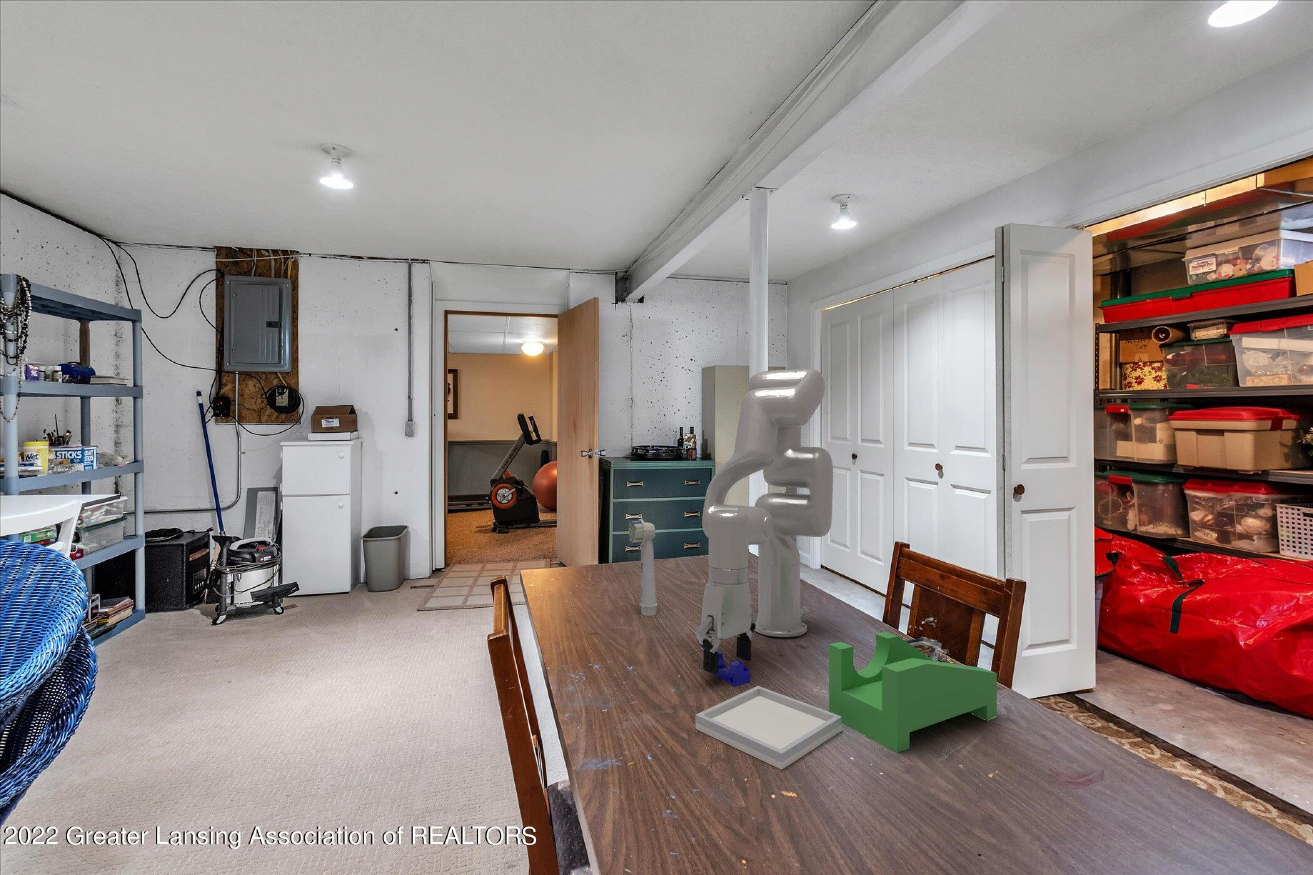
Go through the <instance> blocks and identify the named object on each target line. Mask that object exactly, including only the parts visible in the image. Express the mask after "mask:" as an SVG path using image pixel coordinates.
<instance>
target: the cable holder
mask: <svg viewBox="0 0 1313 875" xmlns="http://www.w3.org/2000/svg"><path fill="white" fill-rule="evenodd" d="M716 652H718V654H719V671H718V673H717V674H715V676H717V677H719V678H720V679H722V680H724V681H725V682H726V683H727V684H730V685H731V686H734V687H738V686H742V685H745V684H750V683H751V669H748V668H747V667H745V666H744V662H741V661H739V660H736V661H732V662H729V667H728V666H727V664H726V663H725V659H724V654H723V652H722V651H720V650H718V649H717V650H716Z"/></svg>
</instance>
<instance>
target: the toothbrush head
mask: <svg viewBox="0 0 1313 875" xmlns="http://www.w3.org/2000/svg"><path fill="white" fill-rule="evenodd" d="M628 535H629V537H630V538H629V541H630V543H631V544H632V545H639V546H640V602H639V603H638V604H639V606H640V614H641V615H642V616H645V617H646V616H647V617H651V616H655V615H656V614H657V612H658V611H657V609H658V608H657V606H658V605H659V603H658V602H657V590H656V589H657V588H656V570H655V569H656V568H655V555H654V552H655V550H654V538H655V537H656V528H655V524H653V523H651V522H645V521H644V519H643V518H640V519H639V518H638V519H637V520H635V521H633V520H631V521H630V522H629V528H628Z"/></svg>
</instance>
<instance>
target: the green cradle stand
mask: <svg viewBox="0 0 1313 875" xmlns="http://www.w3.org/2000/svg"><path fill="white" fill-rule="evenodd" d="M914 646H915V645H911V644H909V643H908V642H906V641H905V639H904V638H902V636H900V635H899V636H898V635H897V634H894V633H892V632H888V631H882V632H880V633H879V632H878V633H875V648H874V653H873V657H872V658H871V660H870V662H869V663H868V665H867V666H865V667H864V668H863V669H862V670H859V671H857V670H856V668H855V666H854V646H852V645H850V644H847V643H845V642H842V641H839V642H834V643H829V644H828V652H829V653H828V712H831V713H833V714H836V715H839V716H842V725H845V726H847V727H849V728H851V729H853V730H854V731H856V732H858V733H860V734H862V735H864V736H865V737H868V738H869V739H871V740H872V741H875V742H876V743H878V744H880V745H882V746H884V747H886V748H887V749H889V750H891V751H893V752H895V753H900V752H903V751H906V750H909V749H910V733H911V732H914V731H917V730H920V729H923V728H926V727H929V726H931V725H935V724H937V723H940V722H943V721H946V720H949V719H951V718H955V717H958V716H960V715H964V714H966V713H969V712H970V713H969V714H971V713H973V714H974V715H976V716H979V717H981V718H983V719H985V720H989V719H991V718H993V717H995V716H997V717H998V685H997V684H998V673H997V672H995V671H992V670H989V669H986V668H983V667H980V666H979V667H978V666H971V665H963V664H956V663H952V662H951V663H949V662H945V661H941V662H940V661H938V662H937V661H934V660H932V659H931V658H930V657H928V656H926V655H925V654H924V653H922V652H921V651H919V650H918V649H919V648H915V647H914ZM974 715H973V716H974ZM976 716H975V717H976ZM985 720H984V721H985Z"/></svg>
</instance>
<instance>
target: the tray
mask: <svg viewBox="0 0 1313 875" xmlns="http://www.w3.org/2000/svg"><path fill="white" fill-rule="evenodd" d="M842 725H843V723H842V716H839V715H836V714H833V713H831V712H829V710H825V709H822V708H819V707H816V706H814V705H811V704H809V703H805V702H803V701H801V700H797V699H795V698H792V697H789V696H786V695H783V694H782V693H779V692H776V691H773V690H771V689H768V688H764V687H762V686H760V685H757V686H755V687H753V688H749V689H748V690H745V691H744V692H742V693H739V694H738V695H735V696H733V697H731V698H729V699H727V700H725V701H722V702H720V703H718V704H716V705H713V706H711V707H710V708H709V707H708V708H707V709H705V710H703V711H701V712H698V713H695V730H697V731H699V732H701V733H703V734H705V735H708V736H710V737H712V738H714V739H716V740H718V741H720V742H722V743H725V744H727V745H728V746H730V747H733V748H734V749H737V750H739V751H741V752H743V753H746V754H748V755H749V756H752V757H754V758H756V759H759V760H760V761H762V762H765V763H767V764H769V765H771V766H772V767H775V768H777V769H779V770H783V769H786V768H787V767H788V766H790V765H792V764H793V763H795V762H796V761H798V760H799V759H800V758H802V757H804V756H806V755H807V754H809V753H810V752H811V751H813V750H814V749H816V748H818V747H820V746H821V745H823V744H824V743H825V742H827V741H828V740H830V739H831V738H833V737H834V736H836V735H837V734H839V733H840V732H842V730H843V726H842Z"/></svg>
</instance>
